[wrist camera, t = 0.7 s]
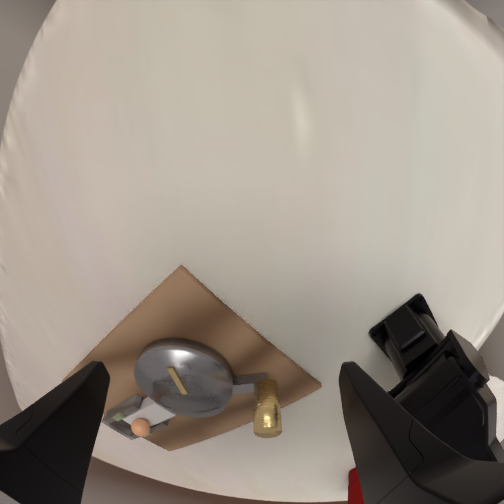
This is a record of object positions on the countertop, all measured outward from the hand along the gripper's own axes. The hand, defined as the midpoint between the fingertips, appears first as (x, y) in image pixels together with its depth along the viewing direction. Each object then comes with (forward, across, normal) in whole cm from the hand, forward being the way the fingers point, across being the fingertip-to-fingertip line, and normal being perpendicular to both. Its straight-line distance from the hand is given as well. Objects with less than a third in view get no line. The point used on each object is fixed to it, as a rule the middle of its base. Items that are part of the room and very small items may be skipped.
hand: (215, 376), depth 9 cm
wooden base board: (+14, +9, +19) cm, 25 cm away
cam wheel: (+13, +5, +14) cm, 20 cm away
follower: (+13, +13, +21) cm, 28 cm away
